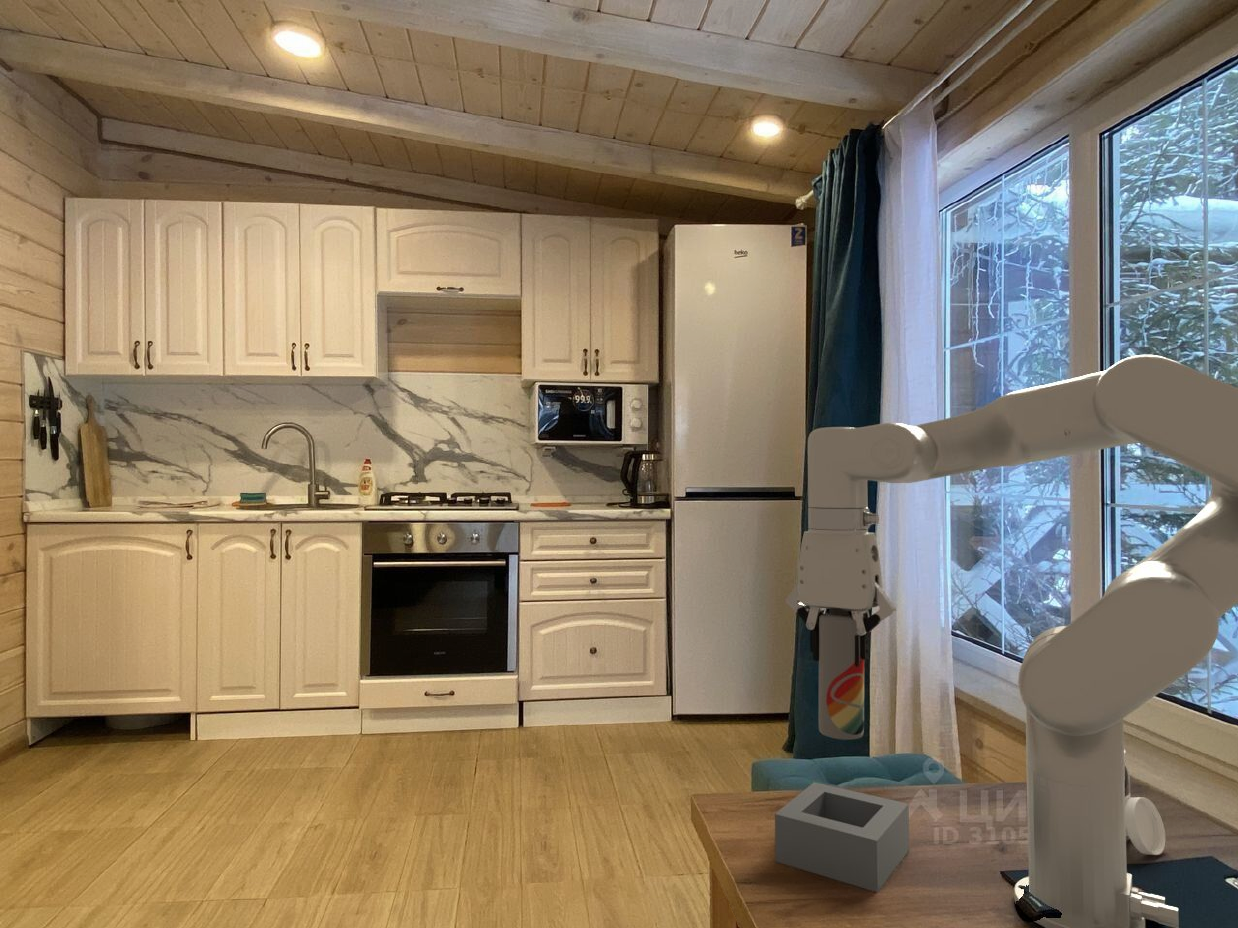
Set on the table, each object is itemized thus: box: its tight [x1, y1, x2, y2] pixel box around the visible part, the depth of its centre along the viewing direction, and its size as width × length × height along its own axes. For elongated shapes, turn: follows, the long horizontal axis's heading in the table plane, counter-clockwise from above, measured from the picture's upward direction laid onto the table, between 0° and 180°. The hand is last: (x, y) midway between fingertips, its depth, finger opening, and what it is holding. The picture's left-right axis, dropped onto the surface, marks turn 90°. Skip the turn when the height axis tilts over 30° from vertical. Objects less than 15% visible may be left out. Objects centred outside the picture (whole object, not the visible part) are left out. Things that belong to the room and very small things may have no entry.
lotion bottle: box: [818, 608, 865, 741], centre depth 101 cm, size 6×6×20 cm
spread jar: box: [1124, 749, 1166, 856], centre depth 105 cm, size 12×11×12 cm
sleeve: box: [774, 781, 910, 893], centre depth 100 cm, size 13×13×6 cm
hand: (839, 660), depth 101 cm, fingers closed on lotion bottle, 4 cm apart
